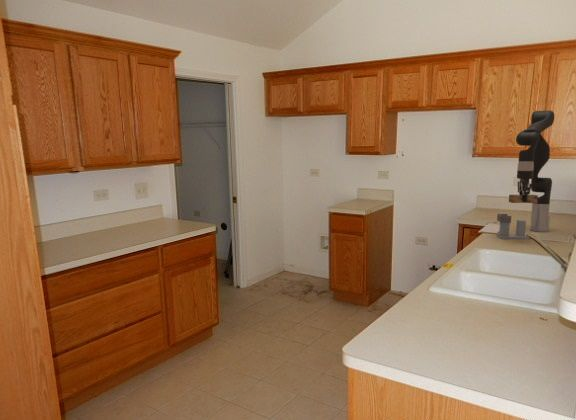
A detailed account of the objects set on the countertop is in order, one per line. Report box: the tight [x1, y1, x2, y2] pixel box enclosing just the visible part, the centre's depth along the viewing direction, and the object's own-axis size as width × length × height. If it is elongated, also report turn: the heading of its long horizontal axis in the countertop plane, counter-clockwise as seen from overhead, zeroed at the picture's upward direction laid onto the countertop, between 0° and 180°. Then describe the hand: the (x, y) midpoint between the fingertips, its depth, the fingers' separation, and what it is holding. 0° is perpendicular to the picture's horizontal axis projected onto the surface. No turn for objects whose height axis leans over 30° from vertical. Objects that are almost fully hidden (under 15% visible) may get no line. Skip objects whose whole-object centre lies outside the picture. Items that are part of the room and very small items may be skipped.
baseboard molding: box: [478, 221, 500, 235], centre depth 264 cm, size 31×3×12 cm
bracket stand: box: [495, 213, 530, 240], centre depth 238 cm, size 15×8×13 cm, turn 79°
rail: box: [508, 194, 539, 204], centre depth 224 cm, size 13×4×4 cm, turn 84°
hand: (522, 201), depth 224 cm, fingers closed on rail, 4 cm apart
